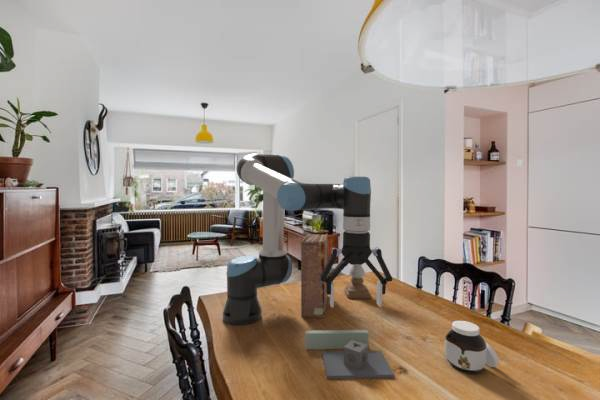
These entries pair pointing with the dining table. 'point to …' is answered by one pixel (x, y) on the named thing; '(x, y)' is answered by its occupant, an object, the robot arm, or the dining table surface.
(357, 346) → the dice cube
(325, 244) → the book
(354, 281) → the candle holder
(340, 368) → the mat
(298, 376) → the dining table surface
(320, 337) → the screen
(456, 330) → the spread jar
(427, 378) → the dining table surface
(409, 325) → the dining table surface
